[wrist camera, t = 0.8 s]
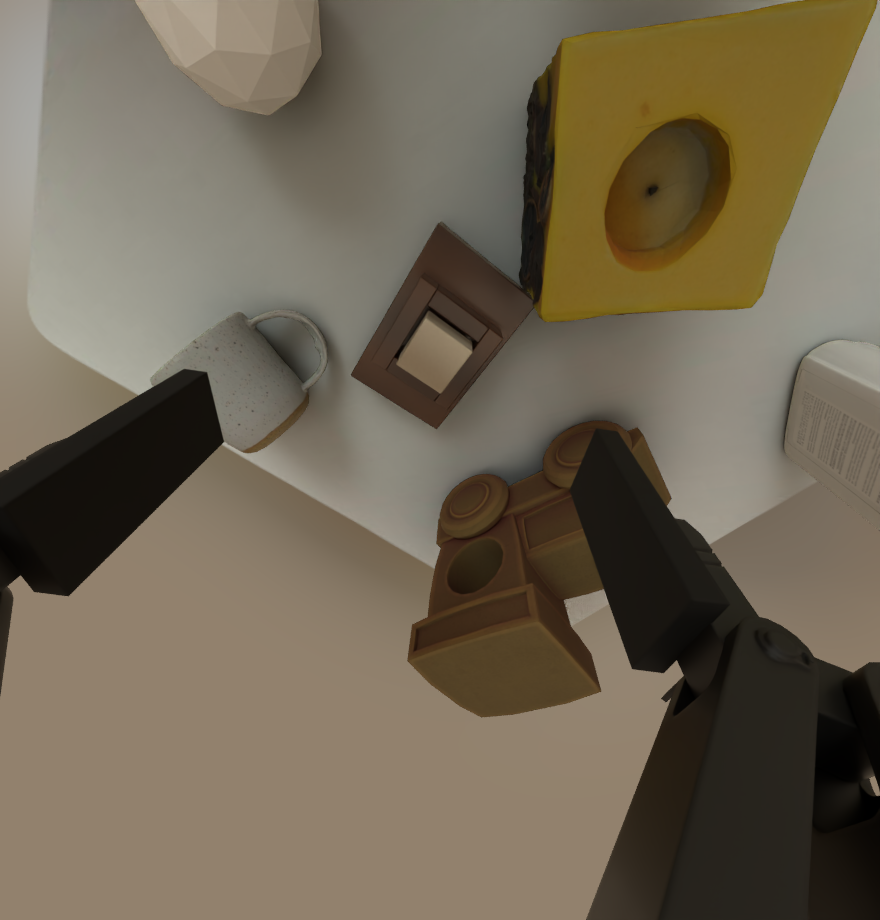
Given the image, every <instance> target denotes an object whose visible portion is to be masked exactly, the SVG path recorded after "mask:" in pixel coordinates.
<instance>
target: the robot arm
mask: <svg viewBox="0 0 880 920" xmlns="http://www.w3.org/2000/svg"><path fill="white" fill-rule="evenodd" d="M223 442H224V440H223V435H222V431H221V427H220V423H219V419H218V415H217V410H216V406H215V402H214V398H213V394H212V390H211V386H210V381H209V377H208V373H207V372H203V371H196V370H189V369H183V370H181V371H179V372H178V373H176V374H174V375H173V376H171V377H169V378H167V379H166V380H164V381H162V382H161V383H159V384H157V385H156V386H154V387H152V388H151V389H149V390H147V391H146V392H144V393H142V394H140V395H139V396H137V397H135V398H134V399H132V400H130V401H129V402H127V403H125V404H124V405H122V406H120V407H119V408H117V409H115V410H114V411H112V412H110V413H109V414H107V415H105V416H103V417H102V418H100V419H98V420H97V421H95V422H93V423H92V424H90V425H88V426H87V427H85V428H83V429H82V430H80V431H78V432H76V433H75V434H73V435H72V436H70V437H68V438H66V439H63V440H60V441H57V442H55V443H52V444H49V445H47V446H45V447H43V448H41V449H40V450H38V451H36V452H35V453H33V454H31V455H29V456H28V457H27V459H26V460H21V461H20V462H18V463H16V464H14V465H12V466H11V467H9V470H4V471H2V472H0V694H1V686H2V679H3V672H4V664H5V657H6V649H7V642H8V635H9V628H10V620H11V613H12V606H13V595H12V592H11V591H10V589H9V588H8V587H7V586H8V585H9V584H10V583H12V582H13V581H14V580H15V579H16V578H18V577H19V576H20V575H21V576H22V577H23V579H24V580H25V581H26V582H27V583H28V585H29V586H30V587H31V588H32V590H33V591H34V592H39V593H47V594H56V595H62V596H69V595H70V594H71V593H72V592H73V591H74V590H75V589H76V588H77V587H78V586H79V585H80V584H81V583H82V582H83V581H84V580H85V579H86V578H87V577H88V576H89V575H90V574H91V573H92V572H93V571H94V570H95V569H96V568H97V567H98V566H99V565H100V564H101V563H102V562H103V561H104V560H105V559H106V558H107V557H109V556H110V554H112V553H113V551H115V550H116V548H118V547H119V546H120V545H121V544H122V542H124V541H125V540H126V539H127V538H128V537H129V536H130V535H131V534H132V533H133V532H134V531H135V530H136V529H137V528H138V526H140V525H141V524H142V523H143V522H144V521H145V520H146V519H147V518H148V517H149V516H150V515H151V514H152V513H153V512H154V511H155V510H156V508H158V507H159V506H160V505H161V504H162V503H163V502H164V501H165V500H166V499H167V498H168V497H169V496H170V495H171V494H172V493H173V492H174V491H175V490H176V489H177V488H178V487H179V486H180V485H181V484H182V483H183V482H184V481H185V480H186V479H187V478H188V477H189V476H190V475H191V474H192V473H193V472H194V471H195V470H196V469H197V468H198V467H199V466H200V465H201V464H202V463H203V462H204V461H205V460H206V459H207V458H208V457H209V456H210V455H211V454H212V453H213V452H214V451H215V450H216V449H217V448H218V447H219V446H220V445H221V444H222V443H223ZM569 491H570V494H571V496H572V499H573V502H574V505H575V508H576V511H577V513H578V516H579V519H580V522H581V525H582V528H583V531H584V533H585V536H586V539H587V542H588V545H589V548H590V550H591V553H592V556H593V559H594V562H595V565H596V568H597V570H598V573H599V576H600V579H601V582H602V585H603V588H604V590H605V593H606V596H607V599H608V602H609V605H610V607H611V610H612V613H613V616H614V619H615V622H616V624H617V627H618V630H619V633H620V636H621V639H622V641H623V644H624V647H625V650H626V653H627V656H628V659H629V661H630V664H631V667H632V669H636V670H644V671H651V672H660V673H664V672H665V671H666V670H667V669H668V668H669V667H670V666H671V665H672V664H673V663H674V662H675V661H676V660H677V661H678V663H679V666H680V668H681V670H682V672H683V674H684V676H683V677H682V678H681V679H680V680H679V681H678V682H677V683H676V684H675V685H674V686H673V687H672V688H671V689H670V690H669V691H668V692H667V693H666V694H665V695H664V696H663V697H662V698H661V699H663V700H664V701H665V702H667V701H668V700H669V699H670V698H671V697H672V698H671V700H670V703H669V706H668V708H667V711H666V713H665V716H664V719H663V721H662V724H661V726H660V729H659V731H658V734H657V737H656V739H655V742H654V745H653V747H652V750H651V752H650V755H649V757H648V760H647V763H646V765H645V768H644V770H643V773H642V776H641V778H640V781H639V784H638V786H637V789H636V791H635V794H634V796H633V799H632V802H631V804H630V807H629V809H628V812H627V815H626V817H625V820H624V822H623V825H622V828H621V830H620V833H619V835H618V838H617V841H616V843H615V846H614V848H613V851H612V854H611V856H610V859H609V861H608V864H607V867H606V869H605V872H604V874H603V877H602V880H601V882H600V885H599V887H598V890H597V893H596V895H595V898H594V901H593V903H592V906H591V908H590V911H589V913H588V916H587V919H586V920H880V796H876V795H875V793H874V791H873V789H872V786H871V783H870V779H869V778H871V777H873V776H875V777H876V780H877V783H878V786H879V790H880V662H873V663H872V662H869V663H868V664H866V665H865V666H863V667H862V668H860V669H858V670H857V671H855V672H854V673H852V672H850V671H847V670H845V669H842V668H840V667H837V666H835V665H832V664H830V663H827V662H824V661H822V660H819V659H817V658H815V657H814V656H813V655H812V653H811V652H810V650H809V649H808V647H807V646H806V645H805V644H803V643H802V642H801V641H800V640H799V639H798V638H797V637H796V636H795V635H794V634H792V633H791V632H790V631H788V630H787V629H785V628H784V627H783V626H781V625H779V624H777V623H775V622H773V621H771V620H769V619H766V618H761V617H759V616H758V615H757V613H756V612H755V611H754V609H753V608H752V606H751V605H750V603H749V602H748V601H747V599H746V598H745V596H744V595H743V593H742V592H741V590H740V589H739V588H738V586H737V585H736V583H735V582H734V581H733V579H732V578H731V576H730V575H729V573H728V572H727V571H726V569H725V568H724V567H722V566H721V562H720V561H719V559H718V558H717V556H716V555H715V553H712V549H711V548H710V546H709V545H708V543H707V542H706V540H705V539H704V538H703V536H702V535H701V534H700V533H699V532H698V531H697V530H696V529H694V528H693V527H692V526H691V525H690V524H689V523H688V522H686V521H685V520H681V519H675V518H674V517H673V515H672V514H671V512H670V511H669V509H668V508H667V506H666V505H665V503H664V501H663V500H662V498H661V497H660V495H659V494H658V492H657V491H656V489H655V488H654V486H653V485H652V483H651V481H650V480H649V478H648V477H647V475H646V474H645V472H644V471H643V469H642V468H641V466H640V465H639V463H638V462H637V460H636V458H635V457H634V455H633V454H632V452H631V451H630V449H629V448H628V446H627V445H626V443H625V442H624V440H623V438H622V437H621V435H620V434H619V432H618V431H612V430H605V429H598V428H596V429H595V431H594V434H593V436H592V438H591V441H590V443H589V445H588V448H587V450H586V452H585V455H584V457H583V459H582V462H581V464H580V467H579V469H578V471H577V474H576V476H575V478H574V481H573V483H572V485H571V488H570V490H569Z"/></svg>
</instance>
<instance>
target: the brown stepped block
mask: <svg viewBox="0 0 880 920" xmlns="http://www.w3.org/2000/svg"><path fill="white" fill-rule="evenodd" d="M533 300H534V299H532V296H531V295H530V294H529V293H528V292H526V291H524V289H523V288H521V287H520V286H519V285H518V284H517V283H515V282H514V281H513V280H512V279H510V278H509V277H508V276H507V275H506V274H504V273H503V272H502V271H501V270H499V269H498V268H497V267H496V266H494V265H493V264H492V263H491V262H490V261H488V260H487V259H486V258H485V257H483V256H482V255H481V254H480V253H479V252H477V251H476V250H475V249H474V248H472V247H471V246H470V245H469V244H468V243H466V242H465V241H464V240H463V239H461V238H460V237H459V236H458V235H456V234H455V233H454V232H453V231H452V230H450V229H449V228H448V227H447V226H445V225H444V224H443V223H442V222H440V223H438V224H437V226H436V228H435V230H434V231H433V233H432V235H431V236H430V238H429V240H428V242H427V243H426V245H425V247H424V249H423V250H422V252H421V254H420V256H419V257H418V259H417V261H416V263H415V264H414V266H413V268H412V269H411V271H410V273H409V275H408V276H407V278H406V280H405V282H404V283H403V285H402V287H401V289H400V290H399V292H398V294H397V295H396V297H395V299H394V301H393V302H392V304H391V306H390V308H389V309H388V311H387V313H386V315H385V316H384V318H383V320H382V322H381V323H380V325H379V327H378V328H377V330H376V332H375V334H374V335H373V337H372V339H371V341H370V342H369V344H368V346H367V348H366V349H365V351H364V353H363V355H362V356H361V358H360V360H359V361H358V363H357V365H356V367H355V368H354V370H353V372H352V374H351V376H352V377H354V378H355V379H357V380H359V381H360V382H362V383H363V384H365V385H367V386H368V387H370V388H371V389H373V390H375V391H376V392H378V393H379V394H381V395H383V396H384V397H386V398H387V399H389V400H391V401H392V402H394V403H395V404H397V405H399V406H400V407H402V408H403V409H405V410H407V411H408V412H410V413H411V414H413V415H415V416H416V417H418V418H419V419H421V420H423V421H424V422H426V423H427V424H429V425H431V426H432V427H434V428H435V429H437V428H438V427H439V426H440V424H441V423H442V422H443V421H444V419H445V418H446V417H447V416H448V414H449V413H450V412H451V411H452V409H453V408H454V407H455V406H456V404H457V403H458V402H459V401H460V399H461V398H462V397H463V396H464V394H465V393H466V392H467V391H468V389H469V388H470V387H471V386H472V384H473V383H474V382H475V381H476V379H477V378H478V377H479V376H480V374H481V373H482V372H483V371H484V369H485V368H486V367H487V366H488V364H489V363H490V362H491V361H492V359H493V358H494V357H495V356H496V354H497V353H498V352H499V351H500V349H501V348H502V347H503V346H504V344H505V343H506V342H507V341H508V339H509V338H510V337H511V336H512V334H513V333H514V332H515V331H516V329H517V328H518V327H519V325H520V324H521V323H522V322H523V320H524V319H525V318H526V317H527V315H528V314H529V313H530V312H531V310H532V309H533V308H534V306H533V304H532V303H533ZM428 311H430V312H432V313H433V314H434V315H436V316H437V317H438V318H440V319H441V320H443V321H444V322H445V323H447V324H448V325H449V326H451V327H452V328H454V329H455V330H456V331H458V332H459V333H460V334H462V335H463V336H465V337H466V338H467V339H469V340H470V341H471V342H472V349H473V352H472V354H471V355H470V357H469V358H468V359H467V361H466V362H465V363H464V365H463V366H462V367H461V368H460V370H459V371H458V372H457V374H456V375H455V376H454V378H453V379H452V380H451V382H450V383H449V384H448V386H447V387H446V388H445V390H444V391H443V392H442V393H441V394H440V393H439V392H437V391H436V390H434V389H433V388H431V387H430V386H428V385H426V384H425V383H423V382H422V381H420V380H419V379H417V378H416V377H414V376H413V375H411V374H410V373H408V372H407V371H405V370H404V369H402V368H401V367H399V366H398V365H397V364H396V363H397V361H398V359H399V356H400V354H401V352H402V351H403V349H404V348H405V346H406V344H407V343H408V341H409V340H410V338H411V337H412V335H413V334H414V332H415V330H416V329H417V327H418V326H419V324H420V323H421V321H422V319H423V318H424V316H425V315H426V313H427V312H428Z"/></svg>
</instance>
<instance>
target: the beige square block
mask: <svg viewBox="0 0 880 920" xmlns="http://www.w3.org/2000/svg"><path fill="white" fill-rule="evenodd" d="M472 352H473V349H472V342H471V341H470V340H469V339H467V338H466V337H465V336H463V335H462V334H460V333H459V332H458V331H456V330H455V329H454V328H452V327H451V326H449V325H448V324H447V323H445V322H444V321H443V320H441V319H440V318H438V317H437V316H436V315H434V314H433V313H432V312H430V311H428V312H427V313H426V315H425V316H424V318H423V319H422V321H421V323H420V324H419V326H418V327H417V329H416V330H415V332H414V334H413V335H412V337H411V338H410V340H409V341H408V343H407V344H406V346H405V348H404V349H403V351H402V352H401V354H400V356H399V359H398V361H397V363H396V364H397V365H398V366H399V367H401V368H402V369H404V370H405V371H407V372H408V373H410V374H411V375H413V376H414V377H416V378H417V379H419V380H420V381H422V382H423V383H425V384H426V385H428V386H430V387H431V388H433V389H434V390H436V391H437V392H439V393H440V394H441V393H442V392H443V391H444V390H445V388H446V387H447V386H448V384H449V383H450V382H451V380H452V379H453V378H454V376H455V375H456V374H457V372H458V371H459V370H460V368H461V367H462V366H463V365H464V363H465V362H466V361H467V359H468V358H469V357H470V355H471V354H472Z"/></svg>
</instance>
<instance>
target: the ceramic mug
mask: <svg viewBox="0 0 880 920" xmlns="http://www.w3.org/2000/svg"><path fill="white" fill-rule="evenodd" d="M275 317H285V318H292V319H293V320H299V321H301V322H302V323H303V324H304V326H305V327H306V328H307V330H308V331H309V333H310V334H311V336H312V337H313V339H314V341H315V348H316V349H317V350H318V351H319V353H320V357H321V362H320V366H319V367H318V369H317V370H316V372H315V373H314V374H313V375H312V376H311V378H309V379H308V380H307V381H305V382H301V380H300V379H299V378H298V377H297V376H296V374H295V373H294V372H293V371H292V370H291V369H290V368H289V367H288V366H287V364H286V363H284V361H283V360H282V359H281V358H280V357H279V355H278V354H277V353H276V351H275V350H274V349H273V348H272V347H271V345H270V344H269V343H268V342H267V340H266V339H265V338H264V336H263V335H262V334H261V333H260V332H259V331H258V330H257V328H256V325H257V324H258V323H259V322H261V321H263V320H266V319H271V318H275ZM327 362H328V350H327V345H326V342H325V339H324V337H323V335H322V333H321V332H320V330H319V329H318V327H317V326H316V325H315V324H314V323H313V322H312V321H311V320H310V319H308V318H307V317H306V316H304V315H302V314H300V313H298V312H295V311H289V310H275V311H271V312H267V313H264V314H261V315H259V316H257V317H255V318H253V319H248V318H247V317H246V316H245V315H244V314H243V313H242V312H237V313H234V314H232V315H230V316H228V317H226V318H225V319H223V320H222V321H220V322H218V323H217V324H216V325H215V326H213V327H212V328H210V329H208V330H207V331H206V332H205V333H203V334H202V335H201V336H199V337H198V338H197V339H195V340H194V341H193V342H192V343H190V344H189V345H188V346H186V347H185V348H184V349H182V350H181V351H180V352H179V353H178V354H176V355H175V356H174V357H173V358H172V359H170V360H169V361H168V362H167V363H166V364H165V365H163V367H161V368H160V369H159V370H158V371H157V372H156V373H155V374H154V375H153V376H152V377H151V379H150V381H151V383H152V385H153V386H156V385H157V384H159V383H161V382H162V381H164V380H166V379H167V378H169V377H171V376H173V375H174V374H176V373H178V372H179V371H181V370H183V369H189V370H196V371H203V372H207V373H208V377H209V381H210V386H211V390H212V394H213V398H214V402H215V406H216V410H217V415H218V419H219V423H220V427H221V431H222V435H223V440H224V441H225V442H226V443H227V444H229V445H231V446H232V447H234V448H236V449H238V450H240V451H241V452H244V453H253V452H257V451H259V450H261V449H263V448H265V447H267V446H268V445H269V444H271V443H272V442H273V441H275V440H276V439H277V438H278V437H280V436H281V435H282V434H283V433H284V432H285V431H286V430H288V429H289V428H290V427H291V426H292V425H293V424H294V423H295V422H296V421H297V420H298V419H299V417H300V416H301V415H302V414H303V413H304V411H305V410H306V408H307V407H308V404H309V394H308V392H307V390H308V388H309V387H311V386H312V385H313V384H315V383H316V382H317V380H318V379H319V378H320V377H321V375H322V374H323V372H324V370H325V368H326V365H327Z"/></svg>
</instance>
